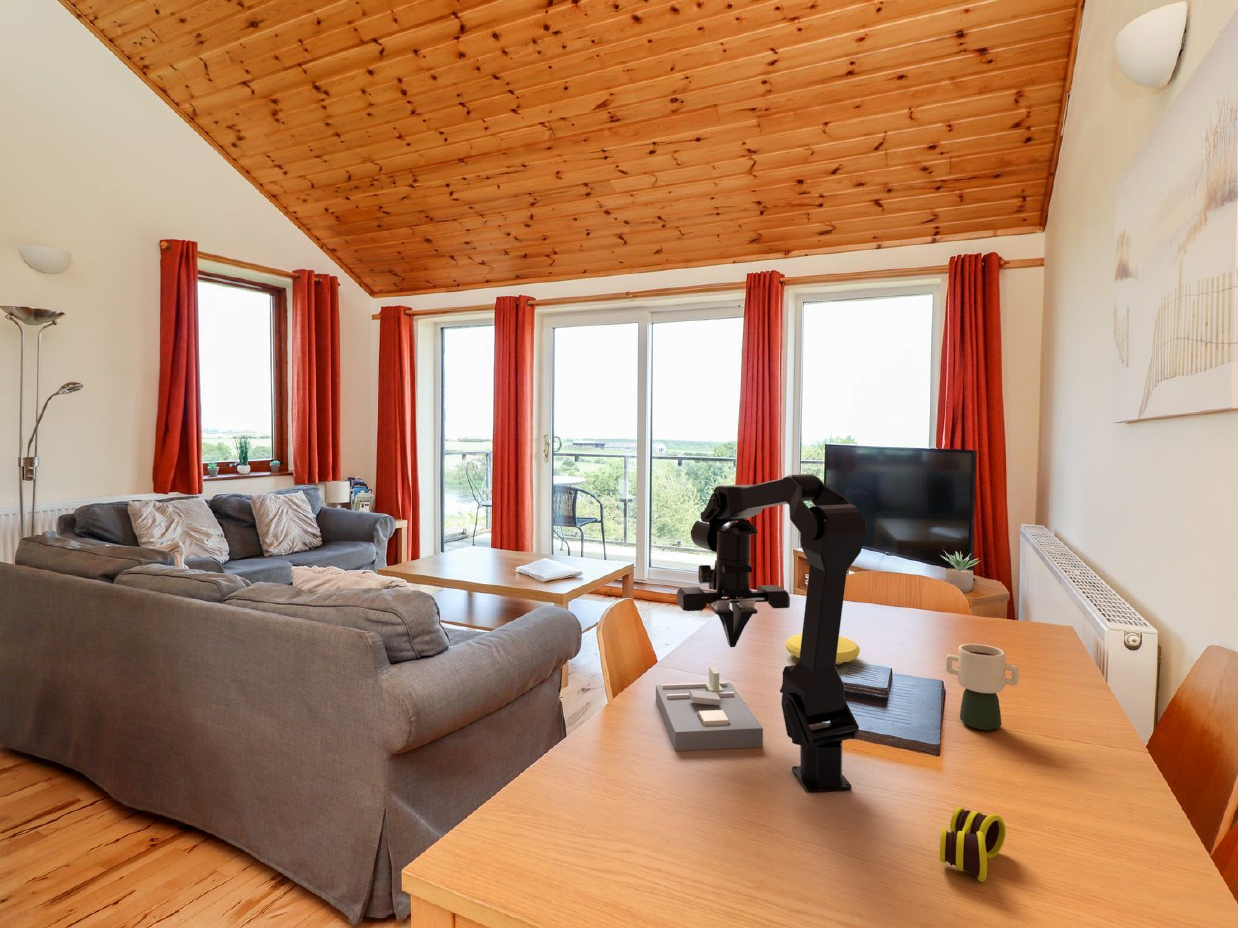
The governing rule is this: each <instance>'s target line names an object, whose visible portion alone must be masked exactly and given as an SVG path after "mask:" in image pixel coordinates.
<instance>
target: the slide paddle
mask: <svg viewBox="0 0 1238 928" xmlns="http://www.w3.org/2000/svg"><path fill="white" fill-rule="evenodd" d="M719 682H720V672H719V671H718V669H717V668H716V667H715V665H714V666H709V667H708V682H704V683H705V687H706V688H707V690H708V691H709V692H723V689H722V687H721V686H720V684H719Z"/></svg>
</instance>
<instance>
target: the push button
mask: <svg viewBox="0 0 1238 928" xmlns="http://www.w3.org/2000/svg"><path fill="white" fill-rule="evenodd" d="M699 720H700V722H701V724H702V726H717V725H729V720H728V718H727V717H726V715H725V713H724V712H723V710H711V711H699Z"/></svg>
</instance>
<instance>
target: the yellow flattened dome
mask: <svg viewBox="0 0 1238 928" xmlns="http://www.w3.org/2000/svg"><path fill="white" fill-rule="evenodd" d="M801 640H802V633H799V634H795V635H792V636H790V637H789V638H788V639H787V640H786V641H785V648H786V651H787V652H788V654H790V655H792V656H794V657H796V658H797V659H799V658H800V649H801ZM860 652H861V648H860V647H859V645H858V644H857V643H856V642H855V641H854V640H852V639H849V638H846V637H843V636H840V635H839V640H838V648H837V656H836V664H837V665H842V664H844V663H843V662H846V663H848V662H851V661H854V660H856V659H858V656H859V655H860ZM841 663H842V664H841Z"/></svg>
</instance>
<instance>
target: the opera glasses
mask: <svg viewBox="0 0 1238 928" xmlns="http://www.w3.org/2000/svg"><path fill="white" fill-rule="evenodd" d="M949 825H950V827H949V828H950V829H949V830H950V832H949V831H948V830H947V829H946V828H941V833H940V842H939V862H940V863H943V864H945V863H949V865H950V866H954V867H955V868H956V869H957V870H959V871H961V872H964V871H965V872H966V873H969V874H971V875H973V876H976V877H977V880H978V881H979V882H981V883H984V882H985V881H986V879H987V875H988V874H987V873H988V859H992V858H993V859H994V857H995V856H997V855H998V854H999V853H1000V851H1001V850H1002V848H1003V846H1004V843H1005V841H1006V840H1005V839H1006V835H1007V829H1006V824H1005V821H1004V819H1003V818H1002V816H1000V815H999V814H995V813H991V814H989V815H986V814H983V813H982V812H980V811H971V810H967V809H965V808H964V807H961V806H958V807H955V809H954V811H953V812H952V815H951V818H950V823H949Z"/></svg>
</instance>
